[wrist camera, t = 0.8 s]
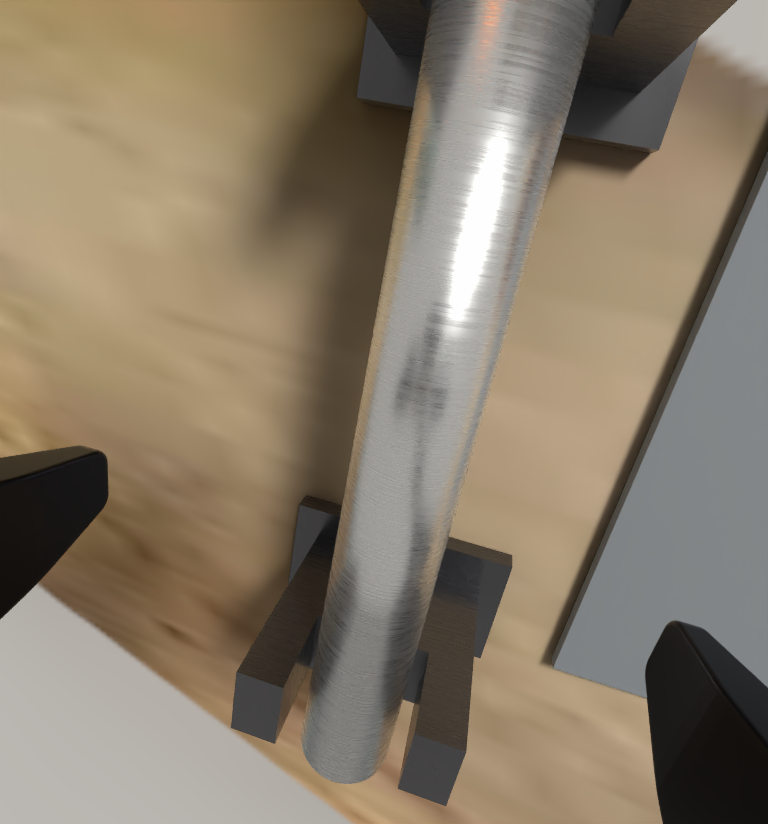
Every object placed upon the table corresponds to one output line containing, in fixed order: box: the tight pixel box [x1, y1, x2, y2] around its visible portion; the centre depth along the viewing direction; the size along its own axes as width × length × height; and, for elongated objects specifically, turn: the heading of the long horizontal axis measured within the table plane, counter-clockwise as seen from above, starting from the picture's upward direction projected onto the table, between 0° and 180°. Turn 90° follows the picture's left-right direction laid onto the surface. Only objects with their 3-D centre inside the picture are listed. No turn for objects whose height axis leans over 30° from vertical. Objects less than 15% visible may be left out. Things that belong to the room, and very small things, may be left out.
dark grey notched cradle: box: [231, 0, 737, 806], centre depth 15 cm, size 25×9×8 cm, turn 169°
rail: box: [301, 0, 600, 784], centre depth 13 cm, size 24×3×3 cm, turn 169°
